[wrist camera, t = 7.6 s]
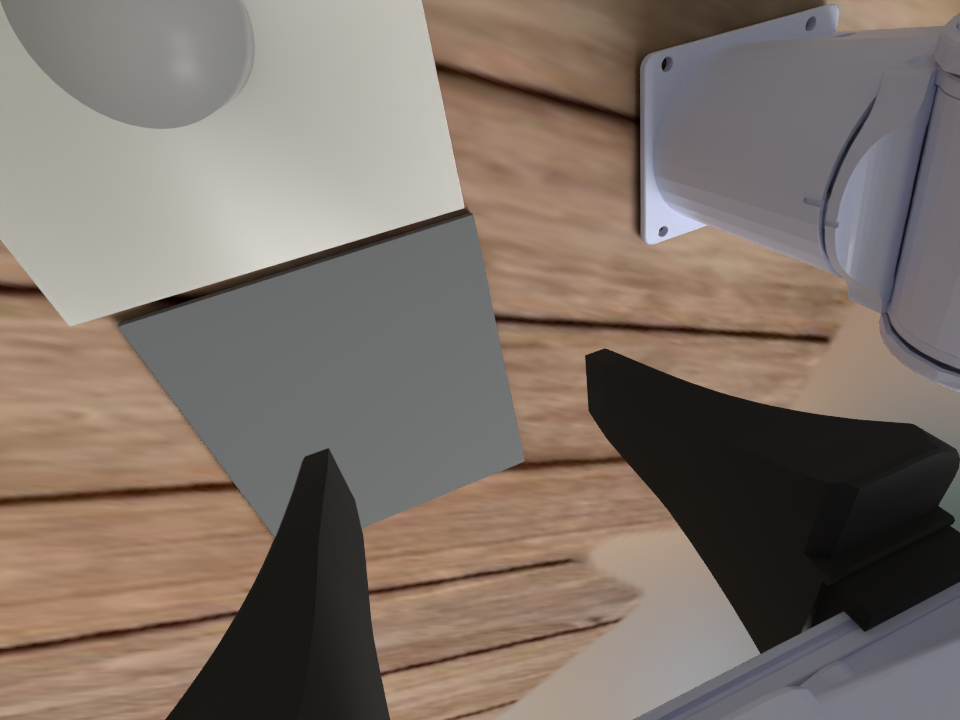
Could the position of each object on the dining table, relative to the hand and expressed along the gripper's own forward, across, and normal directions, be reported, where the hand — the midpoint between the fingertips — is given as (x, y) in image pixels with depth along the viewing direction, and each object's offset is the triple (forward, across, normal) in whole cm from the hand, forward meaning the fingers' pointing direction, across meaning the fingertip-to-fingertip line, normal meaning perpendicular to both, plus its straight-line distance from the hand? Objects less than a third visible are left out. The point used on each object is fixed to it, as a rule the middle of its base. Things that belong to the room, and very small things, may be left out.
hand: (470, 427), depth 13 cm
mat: (+10, +3, +5) cm, 12 cm away
